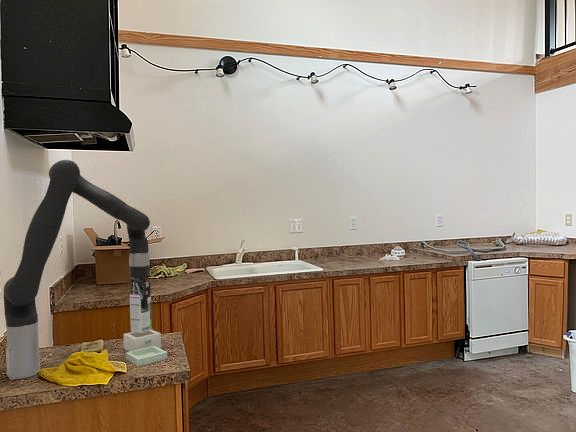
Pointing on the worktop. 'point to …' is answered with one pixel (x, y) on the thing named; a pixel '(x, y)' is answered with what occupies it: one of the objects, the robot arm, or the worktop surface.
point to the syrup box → (140, 314)
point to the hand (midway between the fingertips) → (140, 306)
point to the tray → (146, 356)
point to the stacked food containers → (141, 340)
